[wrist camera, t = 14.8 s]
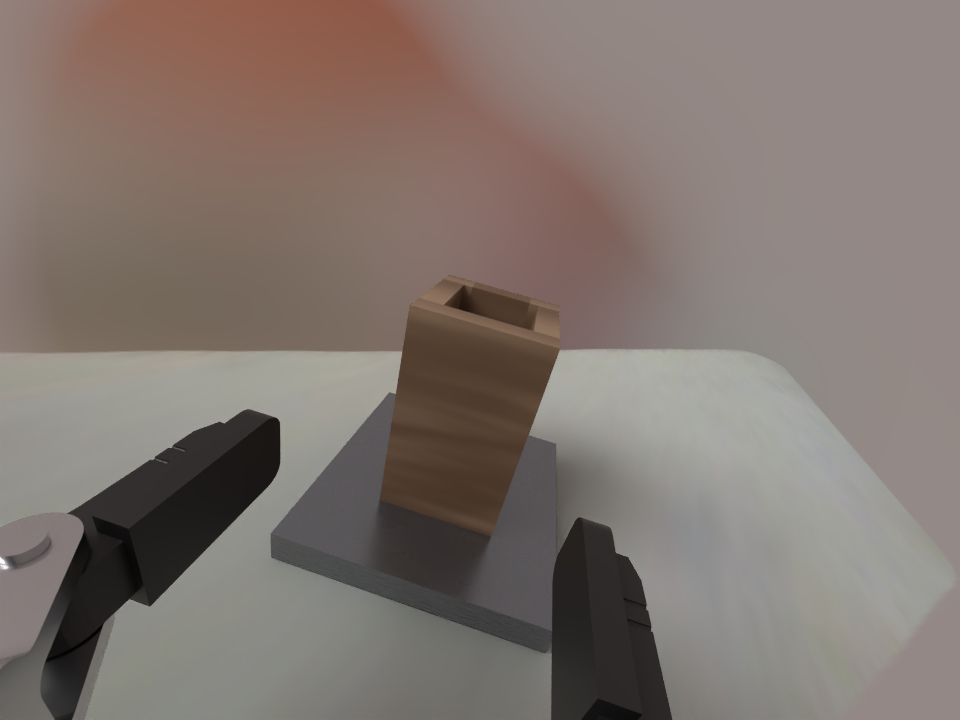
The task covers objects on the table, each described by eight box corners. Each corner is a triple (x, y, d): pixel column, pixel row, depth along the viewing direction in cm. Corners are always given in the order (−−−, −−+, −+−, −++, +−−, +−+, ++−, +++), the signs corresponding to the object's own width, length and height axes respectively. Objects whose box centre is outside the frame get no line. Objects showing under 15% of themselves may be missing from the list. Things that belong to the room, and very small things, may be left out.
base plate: (544, 653, 15) (605, 548, 12) (271, 557, 16) (268, 438, 13) (549, 460, 26) (581, 381, 23) (386, 409, 26) (399, 327, 24)
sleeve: (491, 536, 17) (559, 348, 13) (379, 499, 18) (410, 304, 13) (505, 460, 22) (558, 305, 18) (418, 432, 23) (449, 274, 18)
